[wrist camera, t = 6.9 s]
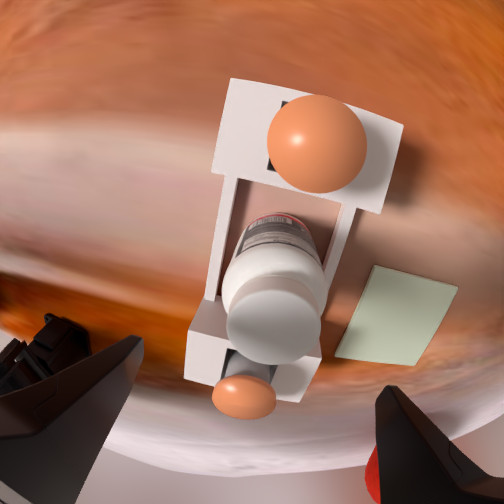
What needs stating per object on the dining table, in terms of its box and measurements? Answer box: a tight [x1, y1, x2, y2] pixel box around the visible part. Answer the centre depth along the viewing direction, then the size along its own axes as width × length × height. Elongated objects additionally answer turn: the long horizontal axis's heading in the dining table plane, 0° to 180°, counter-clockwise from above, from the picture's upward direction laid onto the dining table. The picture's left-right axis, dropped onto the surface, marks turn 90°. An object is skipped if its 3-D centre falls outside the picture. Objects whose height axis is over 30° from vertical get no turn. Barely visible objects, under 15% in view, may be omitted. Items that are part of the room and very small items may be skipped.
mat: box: [334, 265, 458, 366], centre depth 22 cm, size 9×9×1 cm
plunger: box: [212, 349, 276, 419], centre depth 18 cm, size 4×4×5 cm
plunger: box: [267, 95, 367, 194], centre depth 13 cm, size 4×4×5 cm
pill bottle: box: [222, 213, 328, 365], centre depth 16 cm, size 5×5×10 cm
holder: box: [184, 78, 404, 403], centre depth 18 cm, size 20×9×5 cm, turn 168°
